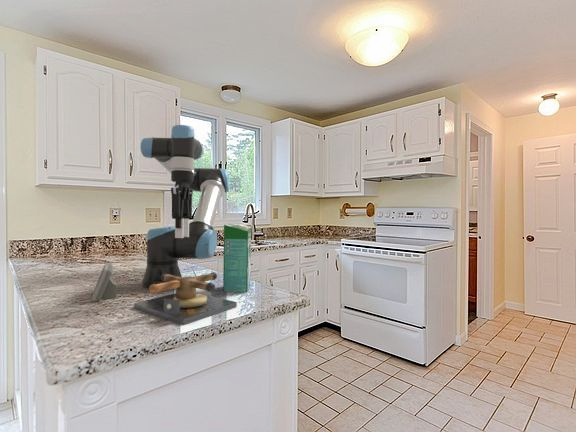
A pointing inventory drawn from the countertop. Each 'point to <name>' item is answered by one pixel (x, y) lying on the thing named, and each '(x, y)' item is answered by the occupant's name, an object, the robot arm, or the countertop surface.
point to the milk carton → (237, 258)
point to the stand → (180, 315)
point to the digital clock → (105, 285)
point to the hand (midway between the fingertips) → (182, 237)
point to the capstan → (186, 288)
